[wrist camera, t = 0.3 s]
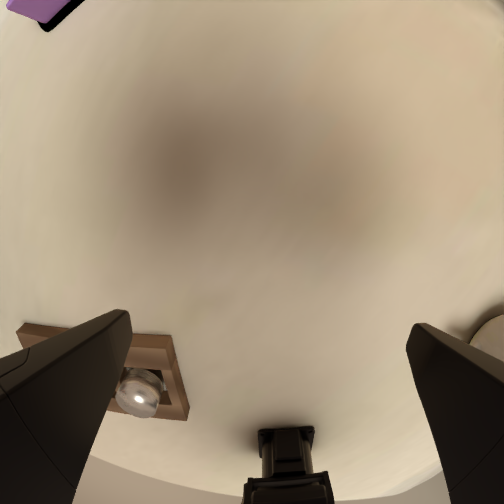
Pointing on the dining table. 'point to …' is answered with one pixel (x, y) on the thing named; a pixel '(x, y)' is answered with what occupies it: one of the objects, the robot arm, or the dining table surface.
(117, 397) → the grey button
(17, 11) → the dollhouse room
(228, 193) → the dining table surface
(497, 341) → the teacup
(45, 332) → the button panel
